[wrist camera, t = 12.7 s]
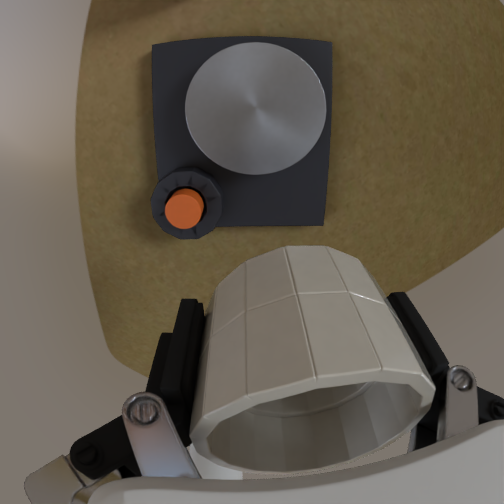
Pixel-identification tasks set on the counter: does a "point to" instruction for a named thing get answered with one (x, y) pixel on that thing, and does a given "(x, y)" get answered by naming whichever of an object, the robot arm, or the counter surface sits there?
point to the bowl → (303, 366)
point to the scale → (217, 177)
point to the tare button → (184, 208)
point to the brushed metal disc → (255, 108)
